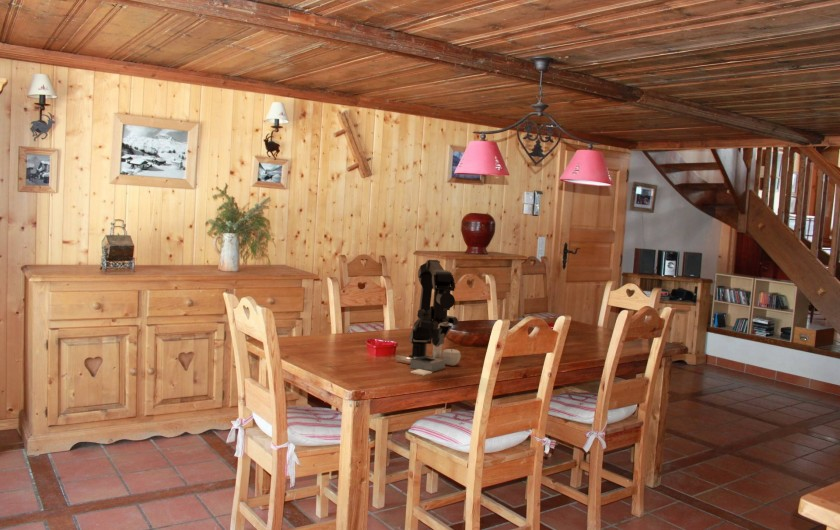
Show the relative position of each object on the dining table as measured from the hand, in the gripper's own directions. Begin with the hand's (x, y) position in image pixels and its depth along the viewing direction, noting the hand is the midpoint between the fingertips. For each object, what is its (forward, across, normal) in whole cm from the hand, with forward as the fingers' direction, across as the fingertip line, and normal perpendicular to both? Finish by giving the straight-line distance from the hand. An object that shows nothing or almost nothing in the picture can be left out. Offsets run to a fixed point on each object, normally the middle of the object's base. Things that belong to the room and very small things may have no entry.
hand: (437, 344), depth 274 cm
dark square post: (+5, 0, 0) cm, 5 cm away
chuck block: (+12, -8, -13) cm, 20 cm away
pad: (+12, +1, -6) cm, 13 cm away
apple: (+13, -21, -6) cm, 25 cm away
